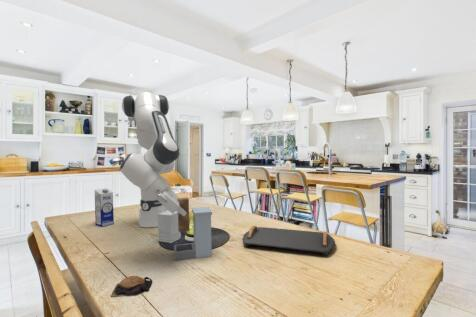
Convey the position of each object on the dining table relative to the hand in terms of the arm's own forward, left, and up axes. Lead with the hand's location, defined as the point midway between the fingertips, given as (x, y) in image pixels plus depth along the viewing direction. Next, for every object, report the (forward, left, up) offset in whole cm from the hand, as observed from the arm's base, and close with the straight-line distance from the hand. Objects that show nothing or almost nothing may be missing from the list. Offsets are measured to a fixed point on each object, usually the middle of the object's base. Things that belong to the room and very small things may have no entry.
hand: (185, 212), depth 99 cm
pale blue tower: (-1, +2, -17) cm, 17 cm away
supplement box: (-14, -16, -17) cm, 27 cm away
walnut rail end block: (0, -1, -7) cm, 7 cm away
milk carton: (-27, -65, -17) cm, 72 cm away
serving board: (-22, +37, -17) cm, 46 cm away
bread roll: (+26, -4, -17) cm, 31 cm away
